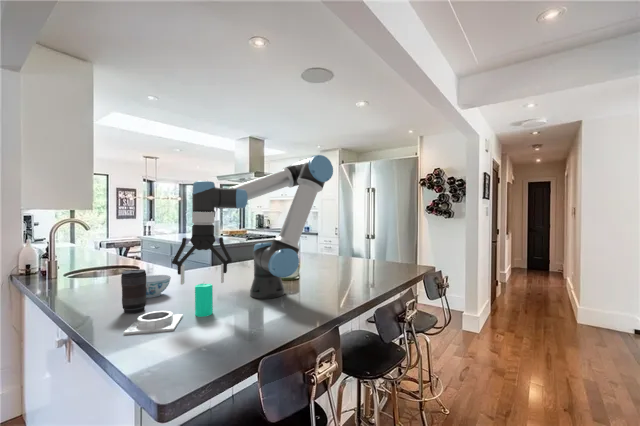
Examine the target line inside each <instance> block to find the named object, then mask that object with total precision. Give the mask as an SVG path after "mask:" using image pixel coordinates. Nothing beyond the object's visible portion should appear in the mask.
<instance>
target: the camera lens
mask: <svg viewBox="0 0 640 426" xmlns="http://www.w3.org/2000/svg"><path fill="white" fill-rule="evenodd" d="M146 276H147V271H146V270H145V269H141V268H140V269H139V268H138V269H130V270H125V271H122V272H121V276H120V284H121V285H120V286H121V304H122V306H121V307H122V309H123V313H124V314H129V315H130V314H131V315H132V314H139V313H142V312H144V311H145V309H146V308H145V307H146V305H147V297H146V291H147V288H146Z"/></svg>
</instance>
